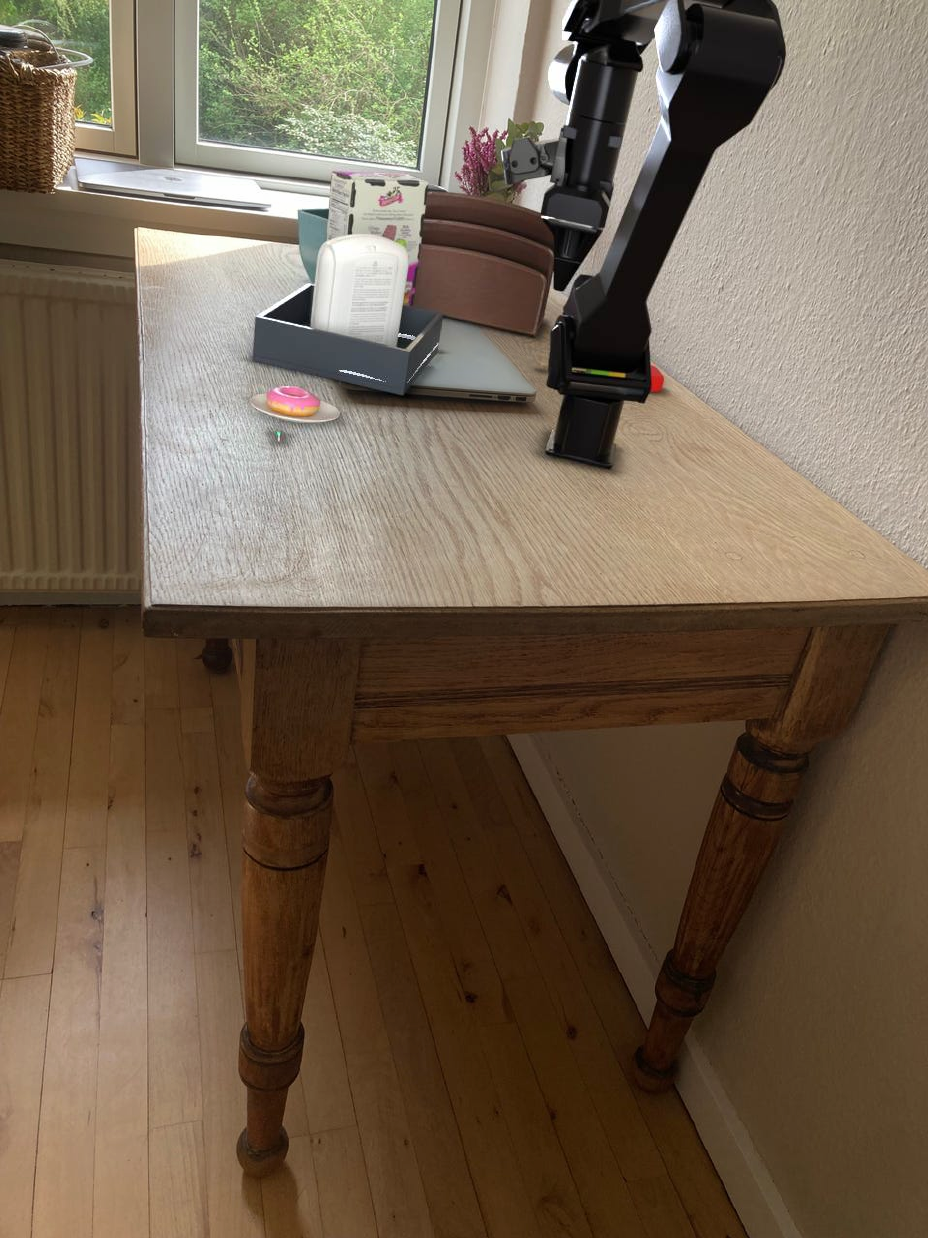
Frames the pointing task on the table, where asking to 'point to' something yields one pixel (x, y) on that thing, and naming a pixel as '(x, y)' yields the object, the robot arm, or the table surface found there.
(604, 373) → the popsicle
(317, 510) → the table surface
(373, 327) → the photo printer
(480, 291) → the letter holder
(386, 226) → the candy bar box
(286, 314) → the tote
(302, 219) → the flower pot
